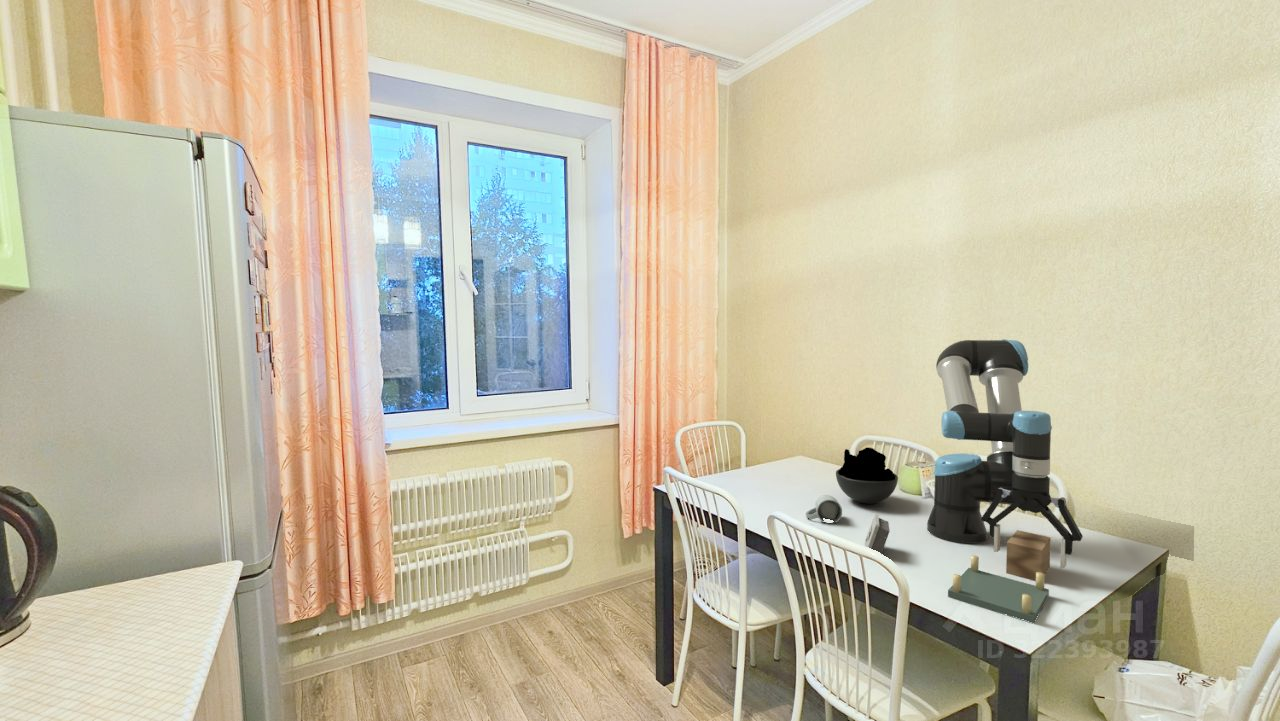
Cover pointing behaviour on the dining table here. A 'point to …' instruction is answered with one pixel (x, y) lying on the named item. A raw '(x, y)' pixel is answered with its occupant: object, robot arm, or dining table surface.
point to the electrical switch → (877, 534)
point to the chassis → (1000, 592)
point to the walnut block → (1028, 555)
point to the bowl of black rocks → (866, 477)
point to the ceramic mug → (826, 509)
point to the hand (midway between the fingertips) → (1028, 558)
